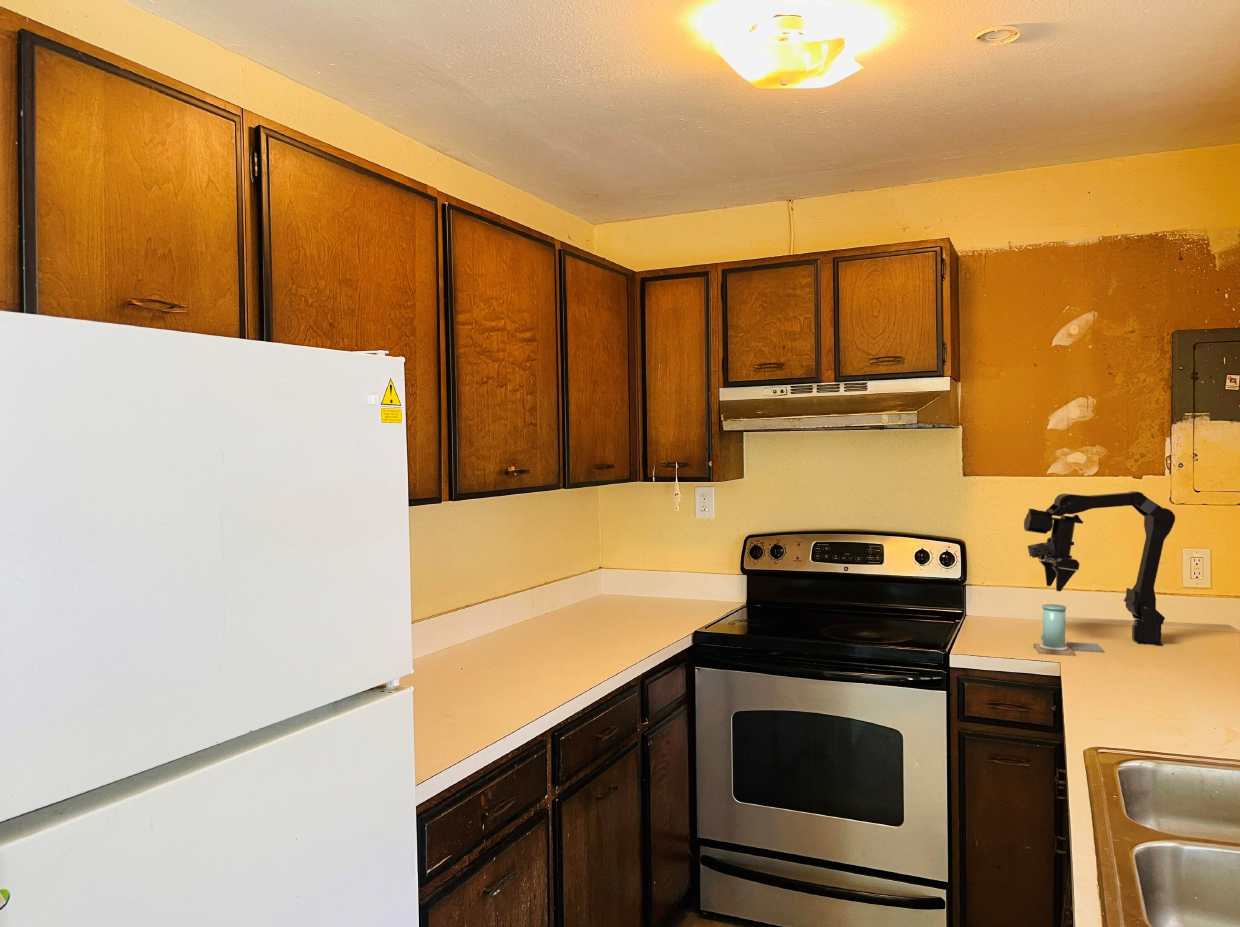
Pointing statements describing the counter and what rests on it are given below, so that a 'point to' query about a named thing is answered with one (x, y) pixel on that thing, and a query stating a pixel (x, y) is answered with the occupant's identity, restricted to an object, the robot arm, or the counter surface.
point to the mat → (1085, 647)
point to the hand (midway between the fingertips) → (1053, 588)
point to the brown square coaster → (1054, 650)
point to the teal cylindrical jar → (1053, 626)
